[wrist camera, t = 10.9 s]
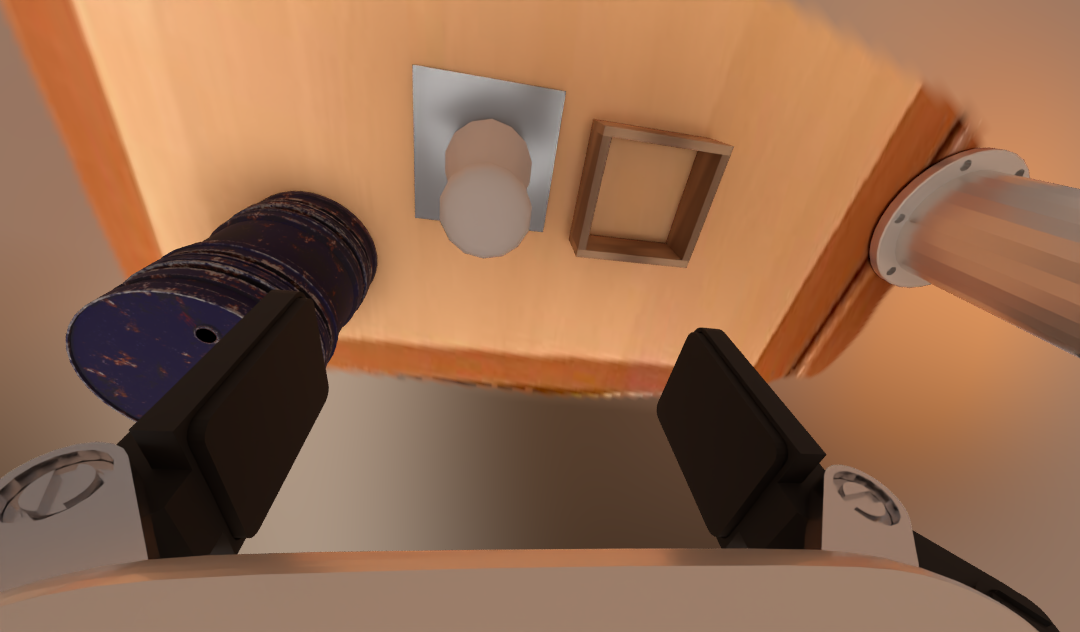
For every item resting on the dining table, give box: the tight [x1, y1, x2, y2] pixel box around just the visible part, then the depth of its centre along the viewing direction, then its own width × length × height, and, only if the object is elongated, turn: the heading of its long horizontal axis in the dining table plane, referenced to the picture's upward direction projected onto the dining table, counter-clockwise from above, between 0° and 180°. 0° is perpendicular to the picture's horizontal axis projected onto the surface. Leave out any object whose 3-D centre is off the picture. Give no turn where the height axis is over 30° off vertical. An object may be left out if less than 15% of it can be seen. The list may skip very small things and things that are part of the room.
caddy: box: [569, 119, 734, 268], centre depth 29 cm, size 9×9×4 cm
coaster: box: [412, 65, 566, 232], centre depth 28 cm, size 10×10×1 cm
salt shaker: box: [440, 119, 532, 258], centre depth 23 cm, size 6×6×13 cm
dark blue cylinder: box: [66, 191, 377, 422], centre depth 25 cm, size 10×10×15 cm
